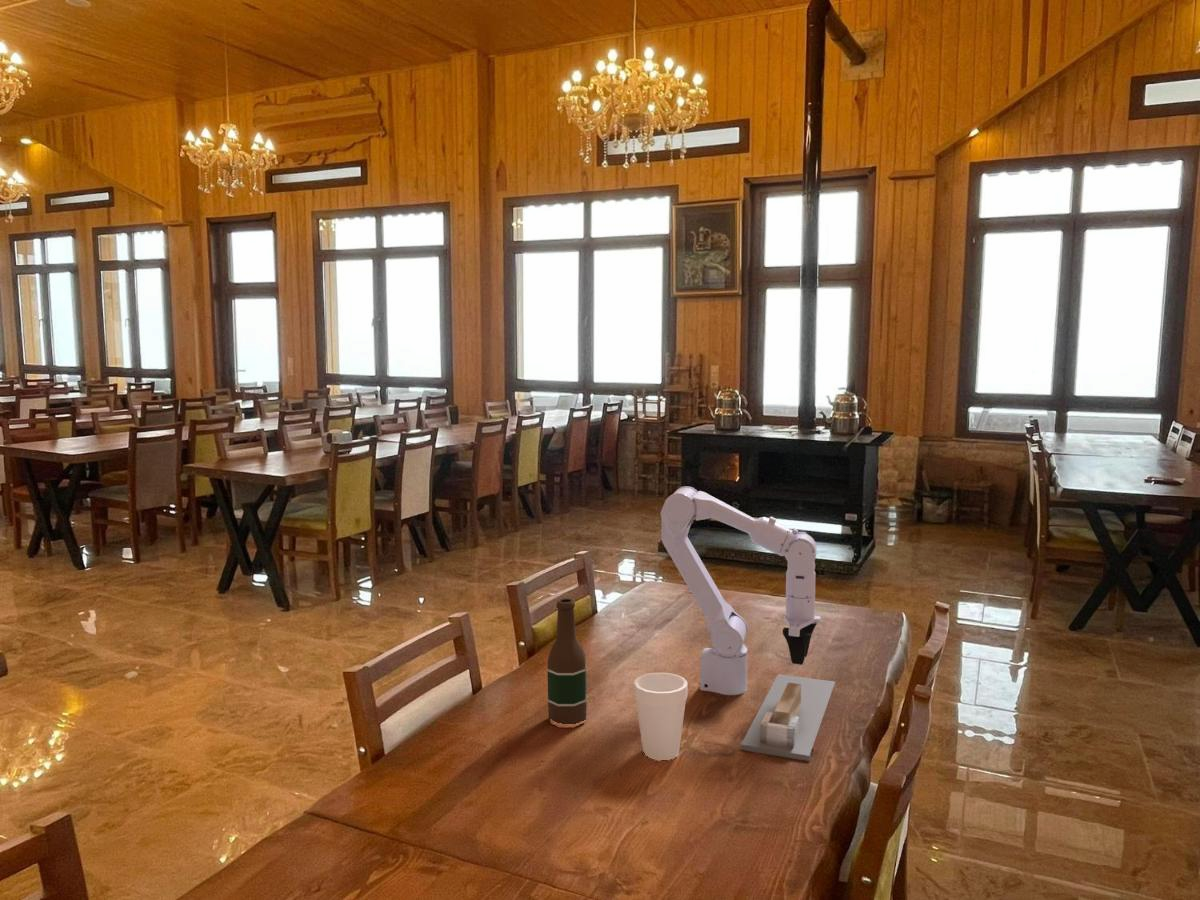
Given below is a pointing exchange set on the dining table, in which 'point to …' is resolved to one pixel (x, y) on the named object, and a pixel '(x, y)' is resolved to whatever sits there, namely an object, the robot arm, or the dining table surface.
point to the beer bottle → (566, 670)
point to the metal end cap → (779, 731)
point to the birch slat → (788, 704)
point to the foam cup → (660, 713)
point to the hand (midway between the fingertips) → (799, 659)
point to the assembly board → (809, 714)
